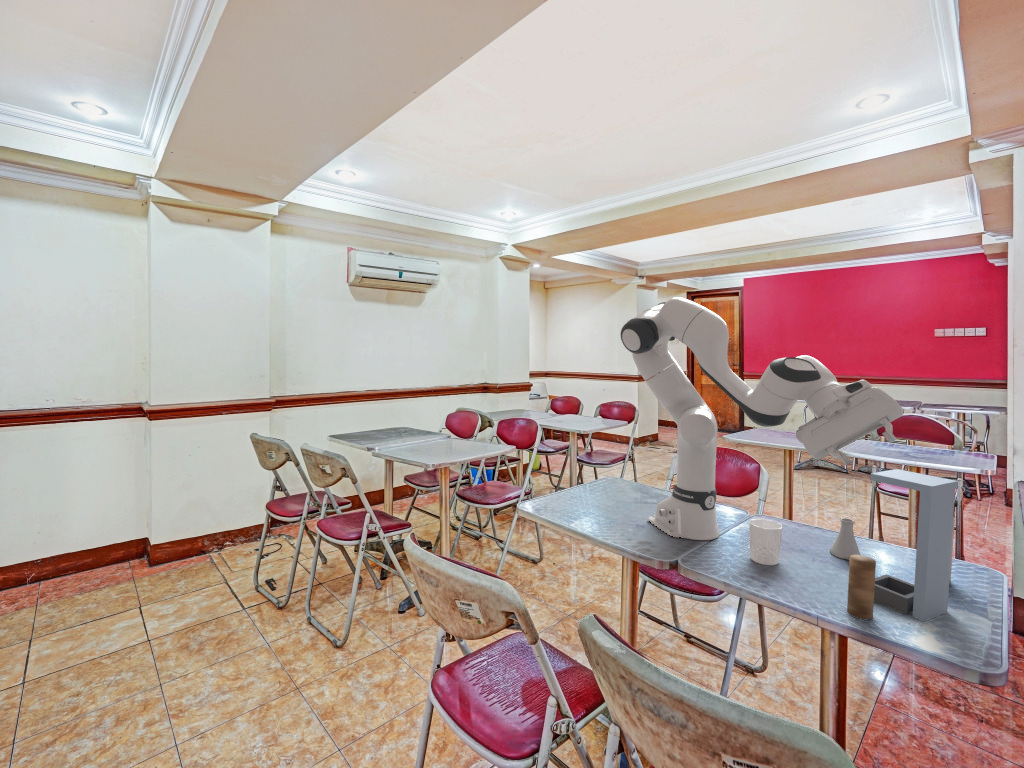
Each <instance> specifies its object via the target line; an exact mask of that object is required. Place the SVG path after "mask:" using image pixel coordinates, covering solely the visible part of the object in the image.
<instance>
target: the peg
mask: <svg viewBox="0 0 1024 768" xmlns="http://www.w3.org/2000/svg"><path fill="white" fill-rule="evenodd" d="M876 561H877V560H875V559H873V558H872V557H868V556H866V555H861V554H860V555H851V556H850V560H849V564H848V567H849V568H848V581H847V582H848V583H847V584H848V586H847V601H846V602H847V605H846V611H847V614H849V615H850V614H851V615H850V616H852V615H853V616H852V617H854V616H855V617H854V618H856V617H858V618H857V619H859V618H861V619H860V620H864V619H870V620H873V618H874V602H875V601H874V588H875V578H876V570H877V562H876Z"/></svg>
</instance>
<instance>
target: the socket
mask: <svg viewBox="0 0 1024 768" xmlns="http://www.w3.org/2000/svg"><path fill="white" fill-rule="evenodd" d="M914 584H915V583H914ZM914 584H913V583H911V582H907V581H906V580H903V579H900V578H897V577H895V576H892V575H889V574H887V573H886V574H883V575H880V576H877V577H875V588H874V602H876V603H879V604H881V605H883V606H886V607H888V608H890V609H892V610H895V611H897V612H900V613H902V614H904V615H910V614H911V613H912V614H913V600H914Z"/></svg>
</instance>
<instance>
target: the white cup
mask: <svg viewBox="0 0 1024 768" xmlns="http://www.w3.org/2000/svg"><path fill="white" fill-rule="evenodd" d="M748 525H749V527H748V530H749V531H748V532H749V549H750V550H749V551H750V554H749V555H750V560H752V562H755V563H757V564H759V565H764V566H776V565H778V564H779V562H780V561H779V560H780V554H781V547H782V546H781V545H782V539H783V536H782V535H783V527H784V526H783V525H782V523H780V522H778V521H775V520H771V519H765V518H754V519H753V518H752V519H750V520H749V523H748Z"/></svg>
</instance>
